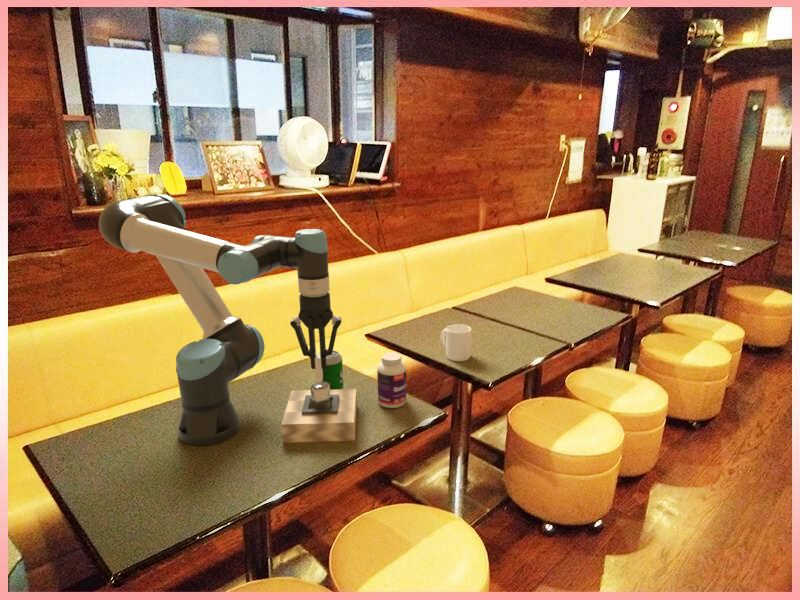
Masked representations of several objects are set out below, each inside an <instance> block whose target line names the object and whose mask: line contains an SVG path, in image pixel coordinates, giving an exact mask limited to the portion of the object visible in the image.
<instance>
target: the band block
mask: <svg viewBox="0 0 800 600" xmlns="http://www.w3.org/2000/svg"><path fill="white" fill-rule="evenodd" d="M357 395H358V394H357V388H343V389H335V390H330V403H331V405H330V407H329V408H324V409H313V408H312V406H311V391H310V389H304V390H302V389H301V390H298V389H297V390H291V392H290V395H289V398H288V401H287V404H286V409H285V411H284V414H283V417H282V421H281V424H280V426H281V437H282V443H283V444H284V443H285V444H286V443H287V444H288V443H291V444H292V443H313V442H314V443H315V442H316V443H318V442H319V443H320V442H322V441H323V443H325V442H350V441H351V442H352V441H353V442H355V440H356V426H357V423H356V422H357V410H358V409H357V408H358V401H357V400H358V399H357V397H358V396H357Z"/></svg>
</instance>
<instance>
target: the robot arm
mask: <svg viewBox="0 0 800 600" xmlns="http://www.w3.org/2000/svg"><path fill="white" fill-rule="evenodd" d="M186 217H187V216H186V212H185V210H184V209H183V206H182V205H181V204H180V203H179V202H178V201H177V200H176V199H175V198H174V197H172V196H170V195H166V194H162V193H160V194H154V193H153V194H147V195H144V196H139V197H133V198H127V199H120V200H115V201H113V202H111V203H109V204H108V205H107V206H106V207H105V208H103V210H102V211H101V213H100V215H99V218H98V229H99V232H100V234H101V236H102V238H103V239H104V241H106V243H108V244H109V245H111V246H112V247H114V248H116V249H119V250H123V251H126V252H129V253H139V252H141V251H142V252H145V253H146V254H149V255H153V256H155V257H156V258H157V260H158V262H159V263H160V266H162V268H163V271H165V273H166V275H168V278H169V279H170V281H171V282H172V284H173V286H174V287H175V288H176V290H177V292H178V293H179V295H180V297H181V298H182V300H183V301H184V303H185V304H186V306H187V307H188V309H189V311H190V312H191V314H192V316H193V317H194V318H195V320H196V322H197V323H198V325H199V326H200V328H201V330H202V331H203V335H202V338H201V339H199V340H198V341H196V340H195V341H192V342H190V343H188V344H186V345H183V347H181V348H180V350H179V351H178V352H177V354H176V357H175V364H176V365H175V371H176V376H177V382H178V387H179V394H180V399H181V407H182V408H181V412H180V418H179V423H178V426H177V430H178V438H179V440H180V441H181V442H183V444H187V445H189V446H194V447H195V446H197V447H203V446H210V445H216V444H220V443H221V442H224V441H226V440H228V439H231V438H232V437H233V436H235V435H236V434H237V432H238V431H239V430H240V428H241V427H240V426H241V425H240V417H239V414H238V412H237V410H236V408H235V407H234V405H233V403H232V401H231V399H230V398H231V397H230V389H229V384H230V383H231V382H233V381H235V380H236V379H237V378H239V377H240V376H241V375H243V374H245V373H246V372H248V371H250V370H251V369H253V368H254V367H255V366H256V365H257V364H258V363H259V362H260V361H261V360H262V359H263V356H264V353H265V348H266V347H265V346H266V345H265V341H264V337H263V335H262V333H261V332H260V331H259V330H258V329H257V328H256V327H255V326H252V325H250V324H245V323H244V321H243V320H242V318H241V317H240V316H237V315H236V316H234V315H233V314H232V313H231V311H230V309H229V308H228V307H227V305H226V303H225V302H224V300H223V298H222V297H221V295H220V294H219V292H218V290H217V288H216V287H215V285H214V284H213V282H212V281H211V279H210V277H209V276H208V273H206V272H205V270H208V271H212V272H215V273H218V274H219V275H220V277H221V279H223V280H224V281H225V282H226V283H228V284H230V285H240V284H245V283H248V282H250V281H251V280H253V279H256V278H258V277H260V276H262V275H264V274H267V273H269V272H271V271H274V270H276V269H278V268H286V269H288V268H289V269H296V270H297V283H298V284H297V285H298V292H299V295H298V296H299V312H298V316H296V317H293V318H292V319H291V320H290V322H289V323H290V326H291V328H292V329H293V330H294V331H295V335H296V338H297V341H298V343H299V346H300V349H301V352H302V356H304V357H309V358H310V368H311V369H312V370H315V382H322V380H323V369H325V368H326V356H328V355H332V352H333V351H334V348H335V347H334V346H335V342H336V338H337V332H338V329H339V327H340V326H341V324H342V317H340V316H336V315H334V312H333V310H332V308H331V294H330V292H329V291H330V289H331V288H330V273H329V247H328V240H327V234H326V232H325V231H324V230H322V229H318V228H310V229H309V228H305V229H299V230H297V231H296V232H295V234H294V237H291V236H290V237H289V236H281V235H280V236H279V235H272V234H267V235H262V234H261V235H257V236H255V237H254V238H253V240H252V241H251V242H250V244H247V245H242V244H239V243H233V242H229V241H227V240H223V239H220V238H215V237H212V236H208V235H204V234H200V233H197V232H194V231H189V230H186V229H185V227H186V224H187V220H185V219H186ZM330 321H331V325H332V329H331V334H330V339H329V344H328V347H326V346H327V345H326V327H327V326H328V324H329V323H330ZM301 323H302V324H303V325H304V326H305V327H306V328H307V331H308V343H309V347H308V343H307V341H306V338H305V335H304V332H303V328H302V326H301ZM315 330H318V338H319V339H318V340H319V353H318V354H316V353H317V351H316V346H317V345H316V332H315Z"/></svg>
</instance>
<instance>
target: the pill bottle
mask: <svg viewBox="0 0 800 600" xmlns="http://www.w3.org/2000/svg"><path fill="white" fill-rule="evenodd" d="M402 360H403V359H402V354H400V353H398V352H385V353H384V354H382V355H381V362H380V363H379V364H378V365H377V369H376V370H377V372H376V373H377V374H376V375H377V401H378V405H380V406H381V407H383V408H387V409H397V408H400V407H402V406H404V405H405V404H406V401H407V366H406V364H405V363H404V362H403V361H402Z"/></svg>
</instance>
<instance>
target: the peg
mask: <svg viewBox="0 0 800 600" xmlns="http://www.w3.org/2000/svg"><path fill="white" fill-rule="evenodd" d="M309 390H310V391H311V406H312V408H313V409H324V408H329V407H330V405H331V403H330V385H329V383H327V382H316V381H315V382H313V383H311V384H310V386H309Z"/></svg>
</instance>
